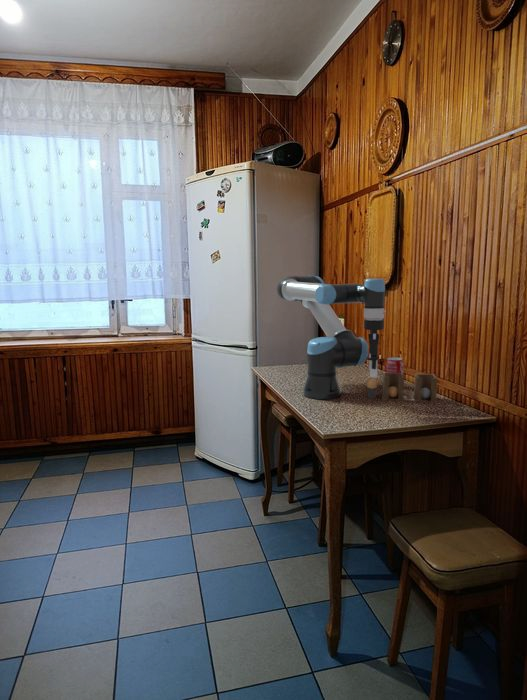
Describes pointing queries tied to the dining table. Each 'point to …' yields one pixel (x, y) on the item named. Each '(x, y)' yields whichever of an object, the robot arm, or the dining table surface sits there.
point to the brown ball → (372, 383)
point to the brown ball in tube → (393, 392)
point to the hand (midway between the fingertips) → (372, 373)
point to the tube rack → (420, 382)
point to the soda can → (394, 365)
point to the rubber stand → (371, 393)
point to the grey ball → (425, 393)
